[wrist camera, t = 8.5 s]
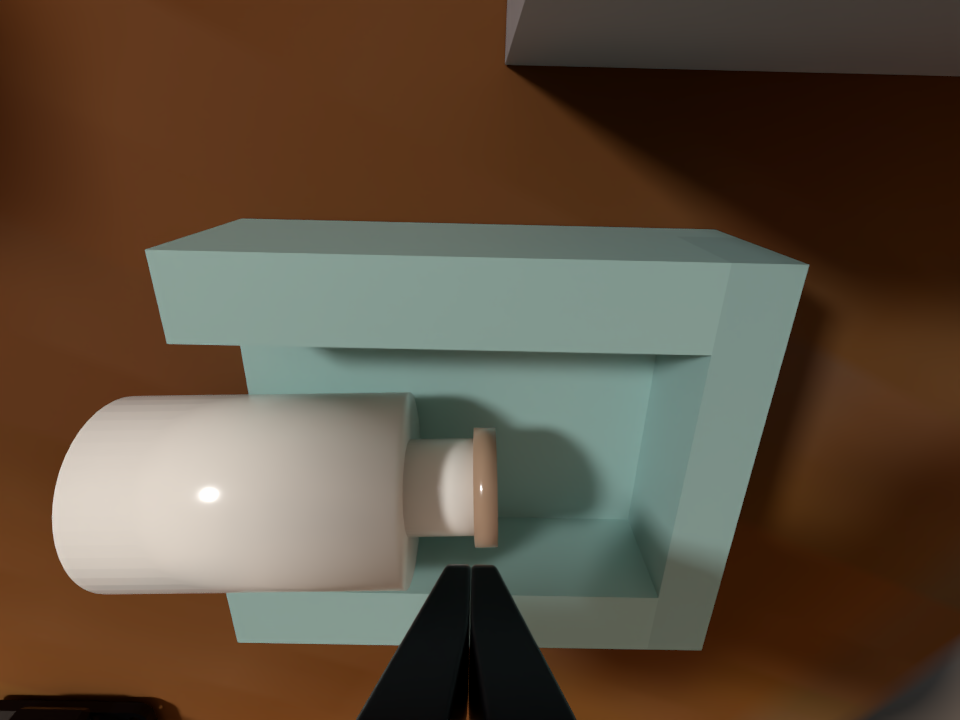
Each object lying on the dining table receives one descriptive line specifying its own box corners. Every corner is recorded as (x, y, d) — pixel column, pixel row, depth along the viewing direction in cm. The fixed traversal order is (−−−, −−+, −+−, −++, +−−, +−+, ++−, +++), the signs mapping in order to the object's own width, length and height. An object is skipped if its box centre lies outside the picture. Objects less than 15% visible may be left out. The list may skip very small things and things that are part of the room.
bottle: (205, 466, 15) (493, 462, 15) (131, 625, 12) (498, 621, 12) (132, 357, 12) (494, 351, 12) (7, 531, 9) (500, 525, 9)
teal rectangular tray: (653, 538, 17) (701, 650, 13) (291, 531, 17) (237, 642, 13) (715, 229, 13) (808, 264, 9) (242, 218, 13) (145, 250, 9)
